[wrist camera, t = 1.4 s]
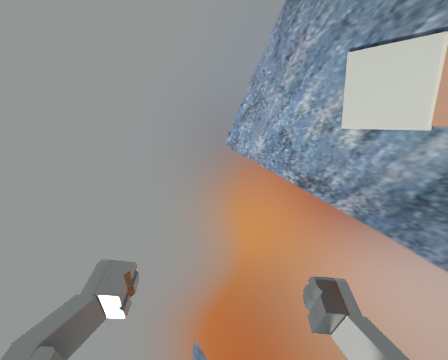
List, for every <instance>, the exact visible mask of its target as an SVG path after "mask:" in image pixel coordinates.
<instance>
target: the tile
mask: <svg viewBox="0 0 448 360" xmlns="http://www.w3.org/2000/svg"><path fill="white" fill-rule="evenodd" d="M427 126H448V34H445V37H444V42H443V47H442V52H441V57H440V62H439V67H438V72H437V77H436V82H435V87H434V92H433V97H432V102H431V107H430V112H429V117H428V122H427Z"/></svg>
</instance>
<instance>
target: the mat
mask: <svg viewBox="0 0 448 360" xmlns="http://www.w3.org/2000/svg"><path fill="white" fill-rule="evenodd" d="M445 34H448V31H446V32H441V33H437V34H432V35H427V36H423V37H418V38H413V39H409V40H404V41H399V42H395V43H390V44H385V45H381V46H376V47H371V48H367V49H362V50H357V51H353V52H348V56H347V68H346V80H345V92H344V104H343V116H342V128H341V129H386V130H432V127H433V126H427V122H428V117H429V112H430V107H431V102H432V97H433V92H434V87H435V82H436V77H437V72H438V67H439V62H440V57H441V52H442V47H443V42H444V37H445Z"/></svg>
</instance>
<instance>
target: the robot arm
mask: <svg viewBox="0 0 448 360" xmlns="http://www.w3.org/2000/svg"><path fill="white" fill-rule="evenodd" d="M136 268H137V265H136V262H127V261H115V260H105V259H101V260H100V261H99V262H98V264H97V265H96V267H95V269H94V271H93V272H92V274H91V276H90V278H89V279H88V281H87V283H86V285H85V286H84V288H83V290H82V292H81V293H80V295H75V296H74V297H73V298H71V299H70V300H69V301H67V302H66V303H64V304H63V305H62V306H61V307H59V308H58V309H57V310H55V311H54V312H53V313H51V314H50V315H49V316H47V317H46V318H45V319H44V320H42V321H41V322H39V323H38V324H37V325H35V326H34V327H33V328H31V329H30V330H29V331H27V332H26V333H25V334H24V335H22V336H21V337H20V338H18V339H17V340H16V341H14V342H13V343H12V344H11V346H10V347H9V349H8V350H7V352H6V353H5V355H4V356H3V357H2V359H1V360H67V359H68V358H69V357H70V356H71V355H72V354H73V353H74V352H75V351H76V350H77V349H78V348H79V347H80V346H81V345H82V344H83V343H84V342H85V341H86V340H87V338H89V336H90V335H91V334H92V333H93V332H94V331H95V330H96V329H97V328H98V327H99V326H100V325H101V324H102V323H103V322H104V321H105V320H106V318H122V319H126V317H127V314H128V311H129V309H130V306H131V300H130V297H131V296H133V295H134V294H135V292H136V289H137V286H138V281H139V274H138V272H137V271H136ZM303 299H304V304H305V307H306V308H307V309H308V310H309V311H310V313H309V315H308V319H309V323H310V326H311V330H312V333H320V334H330V335H331V337H332V338H333V340H334V341H335V342H336V344H337V345H338V346H339V348H340V349H341V350H342V352H343V353H344V355H345V356H346V357H347V358H348V360H409V359H408V358H407V357H406V356H405V355H404V354H403V353H402V352H401V351H400V350H399V349H398V348H397V347H396V346H395V345H394V344H393V343H392V342H391V341H390V340H389V339H388V338H387V337H386V336H385V335H384V334H383V333H382V332H381V331H380V330H379V329H378V328H377V327H376V326H375V325H374V324H372V322H371V321H370V320H368V319H367V318H366V317H363V316H362V314H361V312H360V310H359V307H358V305H357V303H356V301H355V299H354V296H353V294H352V292H351V290H350V288H349V286H348V284H347V282H346V280H345V279H337V278H328V277H311V278H310V279H309V284H308V285H306V286H305V288H304V292H303Z"/></svg>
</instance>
